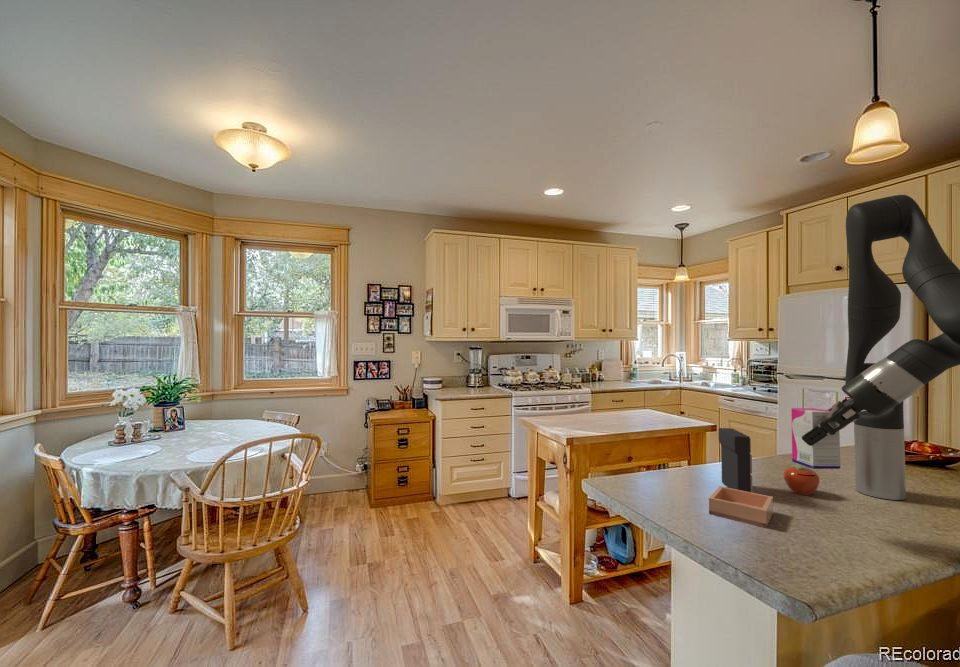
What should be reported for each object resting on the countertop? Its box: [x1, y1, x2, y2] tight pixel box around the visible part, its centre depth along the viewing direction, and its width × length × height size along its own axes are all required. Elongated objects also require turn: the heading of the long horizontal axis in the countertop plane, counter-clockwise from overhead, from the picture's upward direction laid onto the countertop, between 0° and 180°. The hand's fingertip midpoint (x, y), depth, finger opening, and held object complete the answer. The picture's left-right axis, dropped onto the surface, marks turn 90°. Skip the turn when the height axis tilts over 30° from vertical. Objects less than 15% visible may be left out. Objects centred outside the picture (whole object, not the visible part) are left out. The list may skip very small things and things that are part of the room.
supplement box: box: [790, 407, 841, 470], centre depth 85 cm, size 6×6×12 cm
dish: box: [708, 485, 774, 529], centre depth 92 cm, size 11×11×4 cm
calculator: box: [718, 427, 753, 493], centre depth 108 cm, size 11×4×15 cm, turn 168°
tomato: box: [782, 463, 821, 496], centre depth 106 cm, size 7×7×8 cm
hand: (806, 438), depth 86 cm, fingers closed on supplement box, 8 cm apart
